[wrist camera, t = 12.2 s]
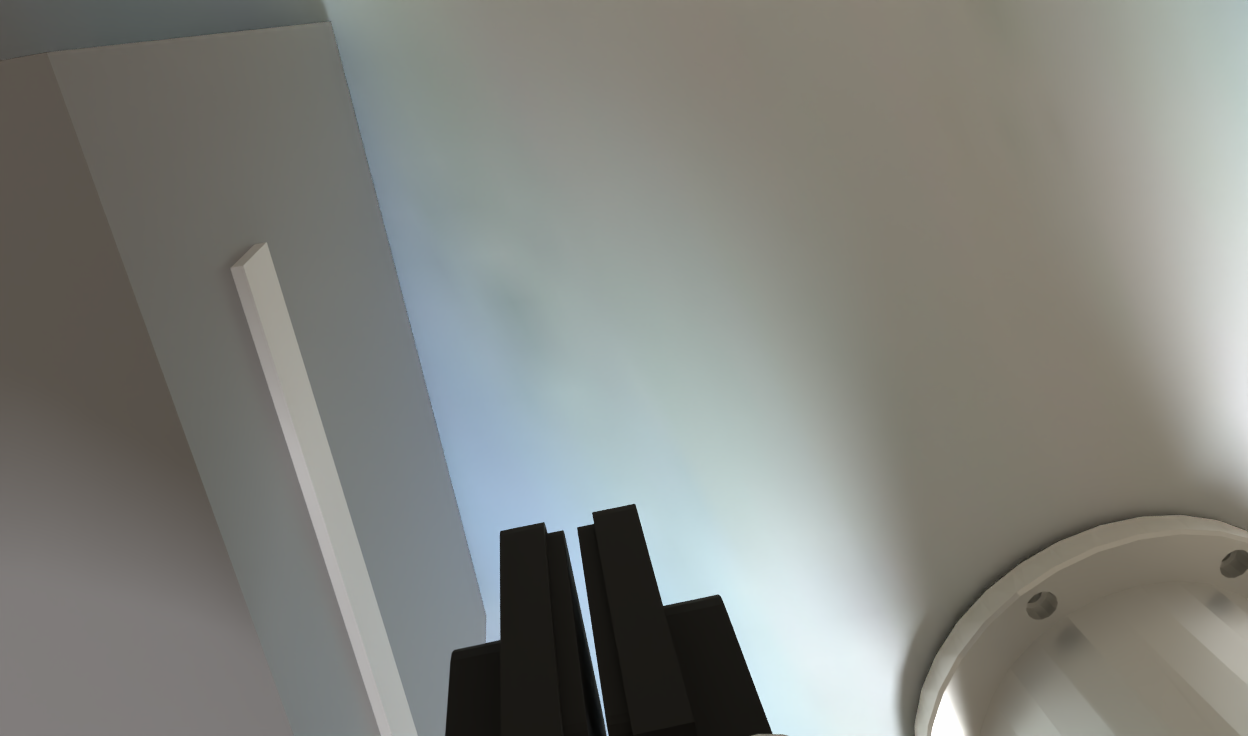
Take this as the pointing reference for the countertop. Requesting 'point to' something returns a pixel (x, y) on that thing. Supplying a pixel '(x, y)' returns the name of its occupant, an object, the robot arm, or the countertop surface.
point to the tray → (213, 407)
